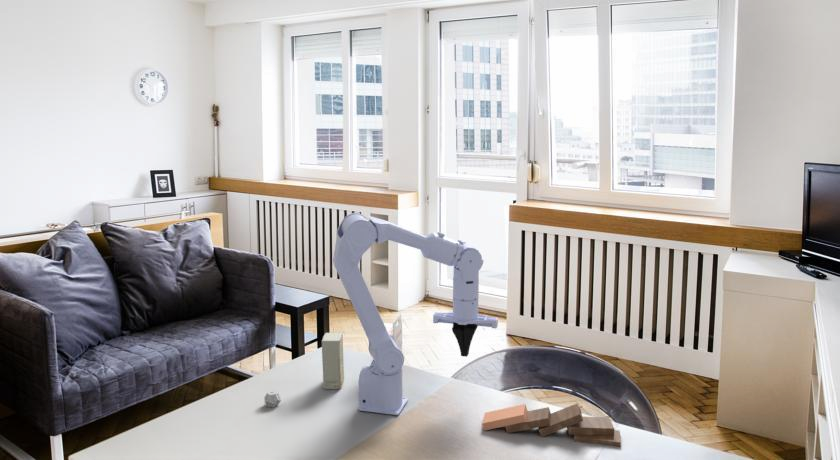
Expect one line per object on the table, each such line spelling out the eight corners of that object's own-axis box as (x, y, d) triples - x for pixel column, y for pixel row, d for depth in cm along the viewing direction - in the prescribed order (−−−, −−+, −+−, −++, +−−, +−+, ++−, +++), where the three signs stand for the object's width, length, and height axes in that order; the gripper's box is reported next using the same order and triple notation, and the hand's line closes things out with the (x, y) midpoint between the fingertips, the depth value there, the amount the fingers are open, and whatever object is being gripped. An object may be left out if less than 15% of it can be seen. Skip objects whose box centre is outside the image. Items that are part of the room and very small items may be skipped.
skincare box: (341, 389, 158) (340, 341, 156) (322, 389, 158) (321, 341, 156) (344, 378, 164) (343, 332, 162) (326, 378, 164) (325, 331, 162)
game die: (272, 410, 148) (271, 397, 147) (261, 405, 150) (260, 393, 149) (284, 404, 151) (283, 392, 150) (273, 400, 153) (272, 388, 152)
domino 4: (574, 436, 134) (620, 442, 132) (574, 425, 139) (619, 430, 137) (573, 444, 134) (620, 449, 132) (574, 432, 139) (619, 437, 137)
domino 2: (538, 430, 136) (579, 414, 134) (537, 418, 141) (577, 403, 139) (542, 436, 136) (583, 420, 134) (541, 425, 141) (580, 409, 139)
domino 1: (505, 426, 137) (547, 418, 135) (507, 415, 142) (548, 407, 140) (507, 433, 138) (550, 425, 135) (509, 422, 142) (550, 414, 140)
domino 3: (569, 427, 135) (614, 428, 134) (565, 415, 140) (609, 417, 139) (568, 434, 135) (614, 436, 134) (565, 423, 140) (608, 424, 139)
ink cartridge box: (384, 365, 173) (383, 311, 170) (402, 367, 172) (402, 312, 169) (375, 379, 164) (374, 322, 162) (395, 380, 163) (394, 323, 161)
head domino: (481, 423, 138) (523, 414, 136) (484, 412, 143) (525, 403, 141) (484, 430, 139) (525, 421, 136) (487, 419, 143) (527, 410, 141)
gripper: (429, 300, 148) (429, 358, 150) (495, 305, 144) (493, 364, 146) (437, 291, 154) (437, 347, 157) (499, 296, 151) (498, 353, 153)
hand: (464, 354), depth 152 cm, fingers closed
